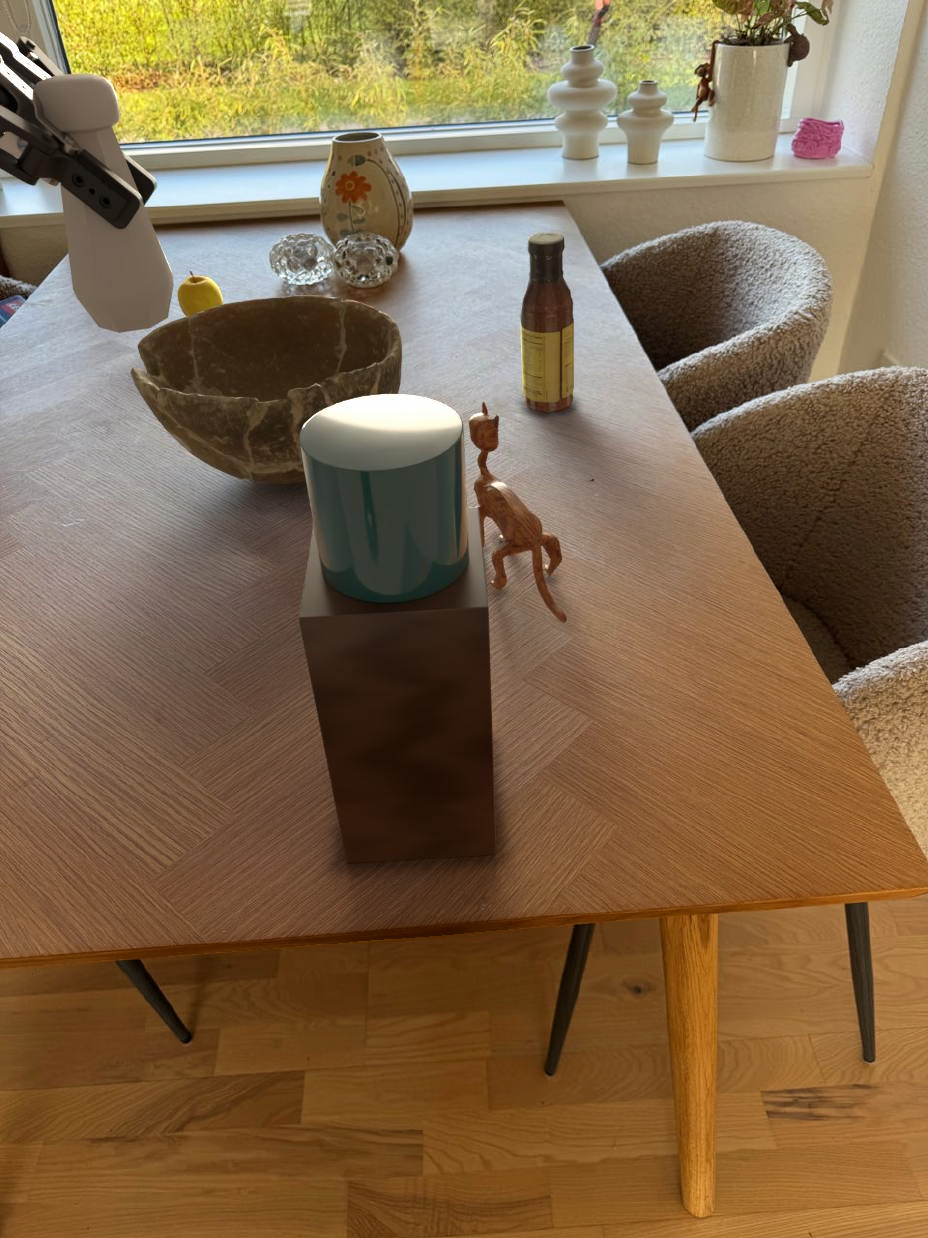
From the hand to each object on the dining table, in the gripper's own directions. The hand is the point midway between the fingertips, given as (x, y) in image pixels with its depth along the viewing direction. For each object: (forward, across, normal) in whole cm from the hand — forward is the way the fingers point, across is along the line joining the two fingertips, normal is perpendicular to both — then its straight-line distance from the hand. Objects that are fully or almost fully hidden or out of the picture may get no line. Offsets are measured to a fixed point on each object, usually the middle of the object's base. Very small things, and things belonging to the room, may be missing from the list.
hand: (140, 205), depth 52 cm
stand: (+36, -13, +17) cm, 42 cm away
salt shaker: (+3, 0, +6) cm, 7 cm away
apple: (+13, +80, +39) cm, 90 cm away
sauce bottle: (+47, +48, +5) cm, 67 cm away
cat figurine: (+42, +13, +10) cm, 45 cm away
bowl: (+25, +36, +27) cm, 51 cm away
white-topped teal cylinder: (+21, -12, +2) cm, 24 cm away
